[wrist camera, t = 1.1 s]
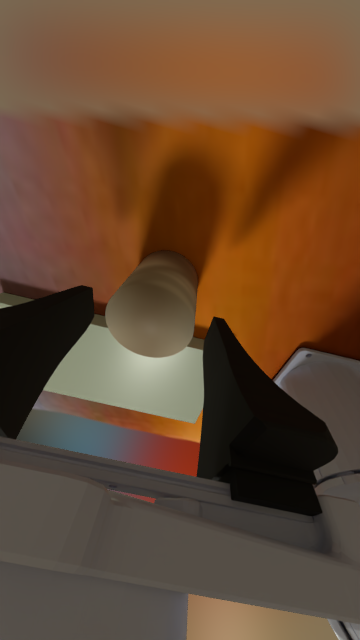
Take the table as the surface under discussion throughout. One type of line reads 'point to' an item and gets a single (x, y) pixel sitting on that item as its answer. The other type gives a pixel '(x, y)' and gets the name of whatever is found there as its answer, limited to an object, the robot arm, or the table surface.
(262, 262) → the table surface
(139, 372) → the green board
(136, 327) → the maple cylinder
